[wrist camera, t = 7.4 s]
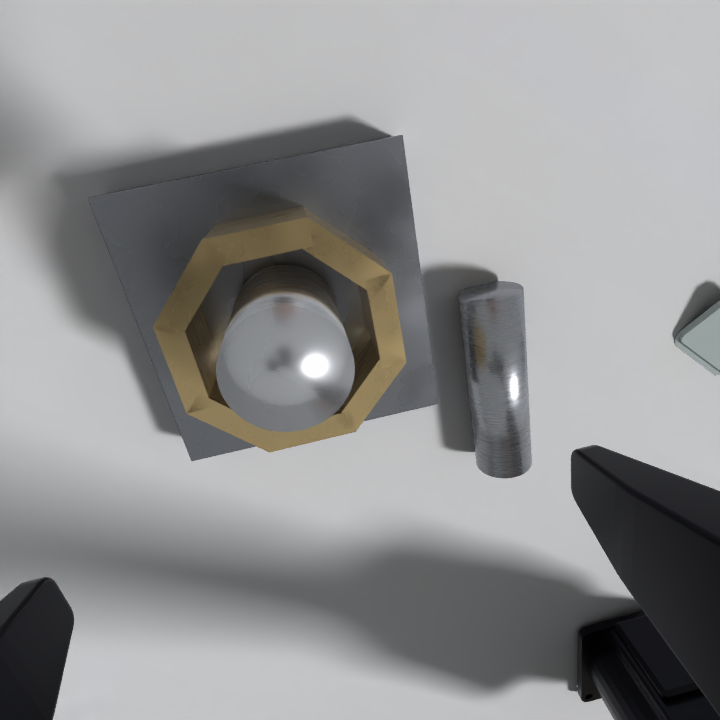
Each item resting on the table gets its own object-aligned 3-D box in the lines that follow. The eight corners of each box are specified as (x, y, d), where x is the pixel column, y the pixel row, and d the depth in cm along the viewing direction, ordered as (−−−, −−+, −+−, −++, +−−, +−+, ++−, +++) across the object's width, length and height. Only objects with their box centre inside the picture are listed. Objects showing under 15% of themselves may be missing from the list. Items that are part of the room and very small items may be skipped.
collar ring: (396, 379, 19) (415, 417, 16) (218, 420, 19) (207, 467, 16) (364, 193, 16) (380, 201, 13) (153, 238, 16) (125, 256, 13)
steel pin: (501, 438, 24) (543, 459, 22) (465, 462, 22) (506, 486, 21) (488, 278, 20) (537, 286, 18) (445, 296, 19) (492, 307, 17)
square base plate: (428, 387, 21) (483, 479, 15) (197, 440, 21) (162, 557, 15) (393, 136, 17) (450, 128, 11) (103, 194, 16) (3, 218, 11)
